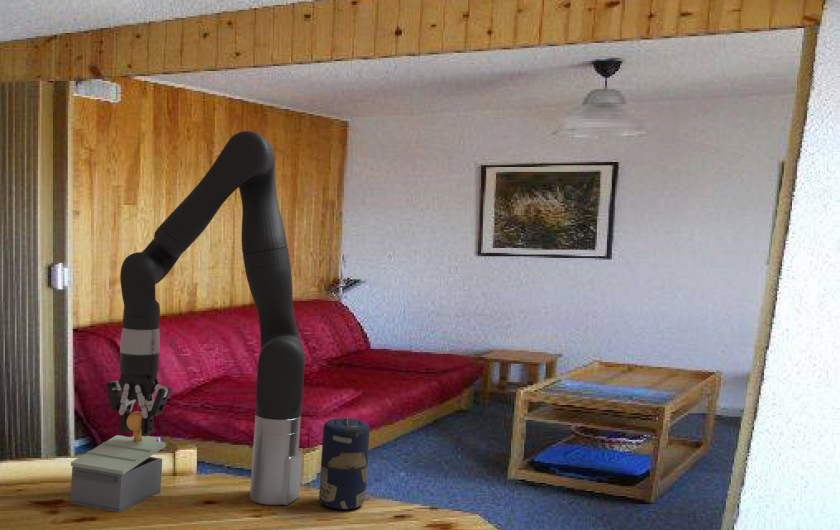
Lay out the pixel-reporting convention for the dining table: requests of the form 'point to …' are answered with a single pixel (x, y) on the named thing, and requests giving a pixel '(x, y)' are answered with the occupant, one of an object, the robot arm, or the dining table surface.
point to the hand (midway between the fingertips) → (135, 433)
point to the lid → (121, 450)
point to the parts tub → (116, 486)
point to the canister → (344, 463)
